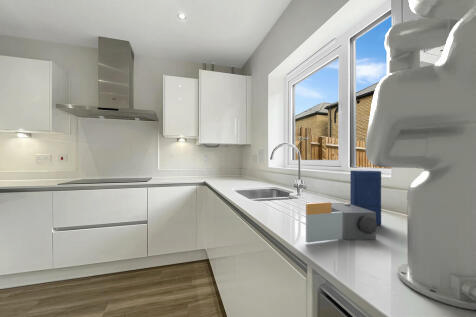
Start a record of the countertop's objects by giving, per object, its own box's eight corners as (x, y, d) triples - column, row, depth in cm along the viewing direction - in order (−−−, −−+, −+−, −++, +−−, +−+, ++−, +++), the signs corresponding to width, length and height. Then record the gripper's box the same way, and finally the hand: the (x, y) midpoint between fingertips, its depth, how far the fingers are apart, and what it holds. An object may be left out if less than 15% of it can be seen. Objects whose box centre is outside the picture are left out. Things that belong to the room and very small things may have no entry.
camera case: (380, 240, 60) (380, 211, 60) (348, 241, 59) (348, 212, 59) (346, 224, 75) (347, 201, 75) (321, 224, 74) (321, 201, 74)
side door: (340, 237, 60) (340, 201, 61) (342, 238, 60) (342, 202, 60) (305, 241, 57) (305, 203, 57) (307, 242, 56) (307, 204, 56)
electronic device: (374, 221, 79) (374, 170, 79) (382, 225, 74) (382, 171, 74) (349, 220, 80) (349, 170, 80) (355, 224, 75) (355, 170, 75)
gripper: (390, 73, 55) (390, 141, 55) (439, 76, 56) (440, 142, 56) (369, 84, 62) (369, 143, 62) (413, 86, 64) (414, 144, 63)
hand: (402, 142), depth 59 cm, fingers closed
